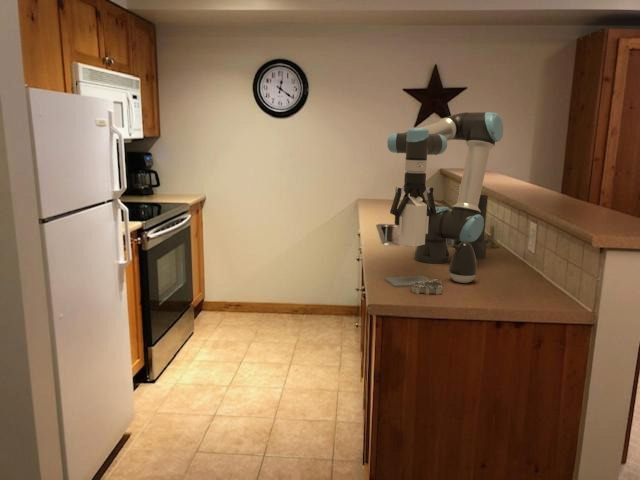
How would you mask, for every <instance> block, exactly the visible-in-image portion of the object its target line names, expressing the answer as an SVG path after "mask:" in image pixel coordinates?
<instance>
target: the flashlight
mask: <svg viewBox="0 0 640 480" xmlns="http://www.w3.org/2000/svg"><path fill="white" fill-rule="evenodd" d="M488 198H489V196H488V194H480V199H479V204H478V208H479V210H480V211H481V213H480V215H481V216H482V217H483V218H484V227H483V230H482V233H481V235H480V236H479V238H477V240H475V241H473V242H470V244H471V246H472V248H473V250H474V253H475V257H476V260H477V259H478V260H482V259H483V260H484V259H486V258H485V257H487V256H486V255H487V245H486V242H485V237H486V236H485V235H486V234H485V233H486V220H487V219H486V218H487V207H488V200H489V199H488Z"/></svg>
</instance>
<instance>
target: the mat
mask: <svg viewBox="0 0 640 480" xmlns="http://www.w3.org/2000/svg"><path fill="white" fill-rule="evenodd" d="M383 279H384V280H385V281H386V282H387V283H389V284H390V285H391V286H393V287H394V288H402V287H411V285H412V284H411V282H414V283H415V282H426V281H431V280H432V279H430V278H428V277H426V276H425V275H411V276H408V275H407V276H391V277H389V276H387V277H384V278H383Z"/></svg>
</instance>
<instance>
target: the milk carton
mask: <svg viewBox="0 0 640 480" xmlns="http://www.w3.org/2000/svg"><path fill="white" fill-rule="evenodd" d="M408 197H409V198H410V200H409V201H408V203H407V204H406V206H405V208H404V210H403V211H402V213H401V215H400V216H401V217H402V228H401V235H399V234H397V236H398V238H397V239H398V242H397V244H398V245H402V246H406V247H413V248H417V246H420V245H424V244H425V233H426V217H427V205H428V203H427V204H425V203H423V202H422V200H423V199H422V198H421V197H419V196H418V197H417V198H414V197H410V194H409V196H408ZM400 204H401V202H399V205H400Z"/></svg>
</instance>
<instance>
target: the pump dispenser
mask: <svg viewBox="0 0 640 480" xmlns="http://www.w3.org/2000/svg"><path fill="white" fill-rule="evenodd" d="M452 248H453V249H454V251H453V252H452V256H451V258H450V260H449V266H448V272H449V275H450V278H451V280H452V281H454V282H456V283H460V284H469V283H470V282H472V281H474V279H475V278H476V275H477V273H478V266H477V259H476V257H475V253H474V250H473V248H472V246H471V242H462V241H460V242H459V243H458V244H457V245H456V244H453V245H452Z"/></svg>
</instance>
